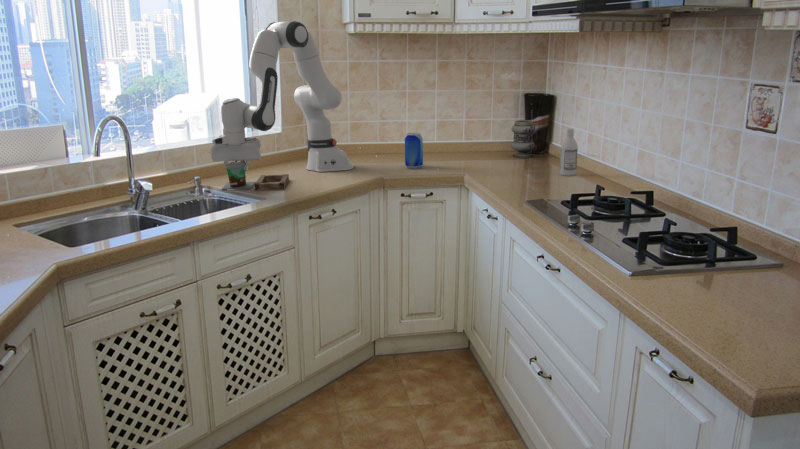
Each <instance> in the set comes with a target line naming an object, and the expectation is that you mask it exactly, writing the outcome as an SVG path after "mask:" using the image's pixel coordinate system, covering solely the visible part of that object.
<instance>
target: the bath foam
mask: <svg viewBox="0 0 800 449" xmlns="http://www.w3.org/2000/svg"><path fill="white" fill-rule="evenodd" d="M574 131H575V129H574V128H567V129H566V137H565V139H564V140H563V141H562V143H561V147H560V160H559V162H560V164H559V174H560V175H561V176H564V177H565V176H567V177H570V176H571V177H572V176H573V177H574V176H576V175H577V164H578V152H579V150H578V149H579V148H578V143H577V140H576V139H575V138H574V134H575V132H574Z"/></svg>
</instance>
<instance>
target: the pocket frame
mask: <svg viewBox="0 0 800 449" xmlns="http://www.w3.org/2000/svg"><path fill="white" fill-rule="evenodd" d="M289 181H290V175H289V174H288V173H287V174H282V173H281V174H261V175H260V176H259V177H258V178H257V180H256V181H255V184H254V191H269V190H270V191H271V190H273V191H274V190H286V187H287V185H288V182H289Z"/></svg>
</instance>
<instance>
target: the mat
mask: <svg viewBox="0 0 800 449" xmlns="http://www.w3.org/2000/svg"><path fill="white" fill-rule="evenodd" d="M255 183H256V181H246V184H244V185H241V186H236V187H230V182H228V181H227V182H226V183H225V184H224V186H222V188H221V191H228V190H227V189H243V190H252V189H253V187H255V185H254V184H255Z"/></svg>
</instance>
